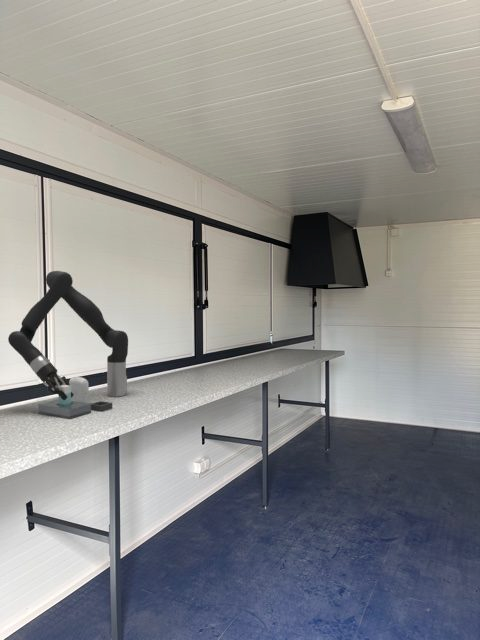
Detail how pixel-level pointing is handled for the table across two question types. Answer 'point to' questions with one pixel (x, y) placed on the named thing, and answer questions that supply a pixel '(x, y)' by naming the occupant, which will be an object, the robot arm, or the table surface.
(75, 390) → the photo printer
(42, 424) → the table surface
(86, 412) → the block
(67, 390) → the plug
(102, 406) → the dark grey square frame
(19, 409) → the table surface
